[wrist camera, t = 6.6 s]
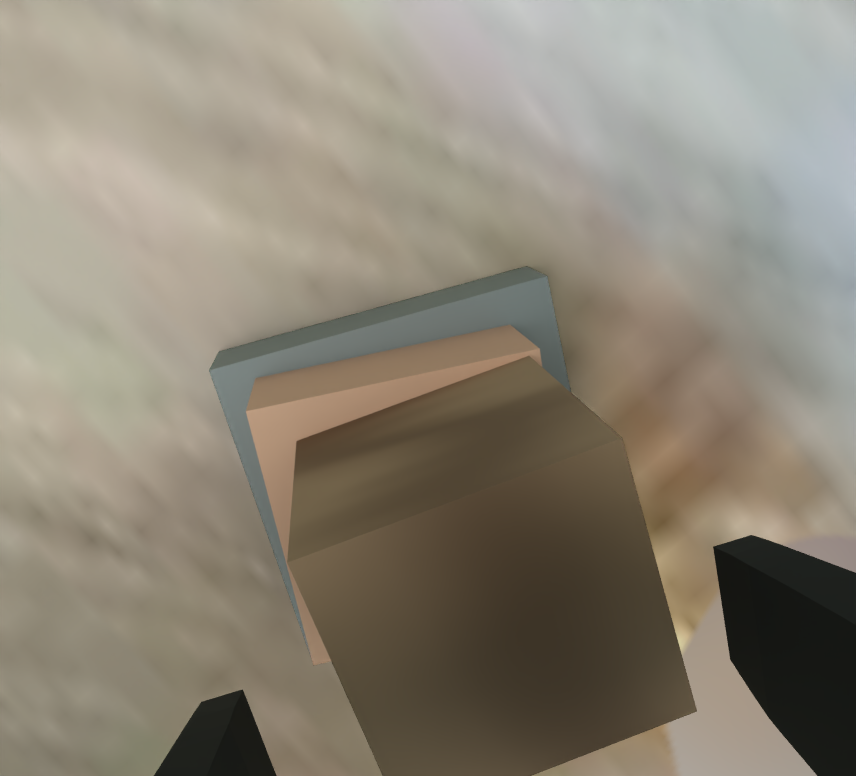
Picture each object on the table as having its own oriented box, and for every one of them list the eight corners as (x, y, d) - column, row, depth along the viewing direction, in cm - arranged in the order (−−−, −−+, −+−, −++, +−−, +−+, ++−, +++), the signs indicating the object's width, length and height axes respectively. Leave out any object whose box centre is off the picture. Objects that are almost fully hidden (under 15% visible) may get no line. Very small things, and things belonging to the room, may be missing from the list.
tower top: (313, 603, 19) (313, 665, 17) (255, 378, 17) (245, 411, 15) (544, 549, 20) (575, 601, 17) (510, 324, 18) (539, 348, 16)
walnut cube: (380, 640, 17) (404, 824, 12) (296, 441, 15) (287, 562, 11) (591, 560, 17) (696, 711, 12) (528, 355, 16) (622, 438, 11)
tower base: (312, 607, 22) (312, 660, 20) (221, 346, 20) (209, 370, 17) (576, 527, 23) (607, 570, 20) (519, 262, 20) (546, 275, 18)
